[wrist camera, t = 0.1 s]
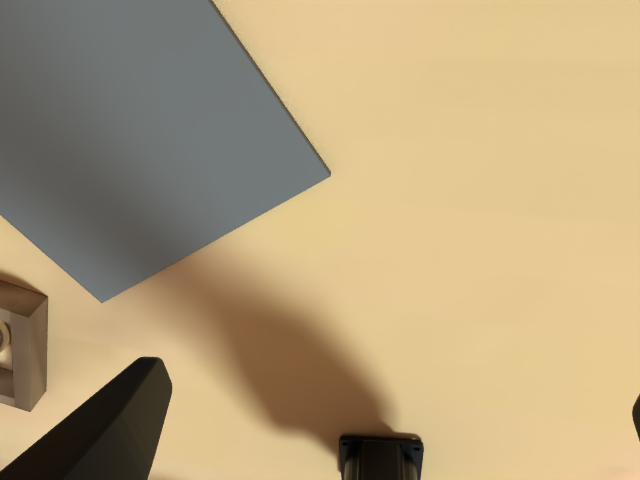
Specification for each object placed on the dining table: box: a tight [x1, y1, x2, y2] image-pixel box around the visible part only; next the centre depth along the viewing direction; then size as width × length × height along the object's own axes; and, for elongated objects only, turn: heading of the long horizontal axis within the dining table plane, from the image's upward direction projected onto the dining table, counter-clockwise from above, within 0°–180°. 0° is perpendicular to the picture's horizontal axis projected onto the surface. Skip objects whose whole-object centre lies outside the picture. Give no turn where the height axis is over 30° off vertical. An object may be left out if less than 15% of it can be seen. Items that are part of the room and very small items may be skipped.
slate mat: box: [0, 0, 331, 303], centre depth 22 cm, size 18×18×1 cm
